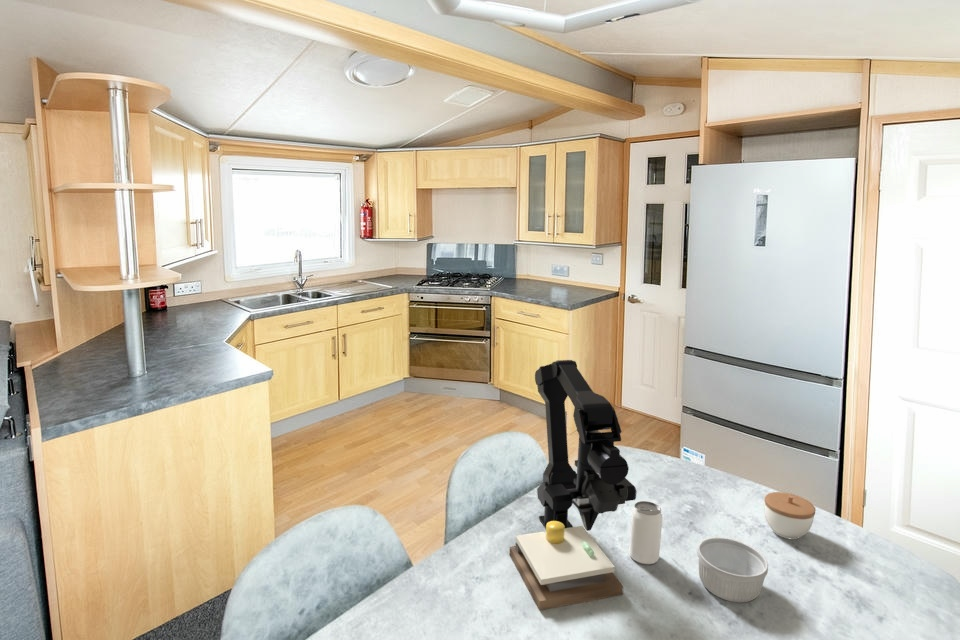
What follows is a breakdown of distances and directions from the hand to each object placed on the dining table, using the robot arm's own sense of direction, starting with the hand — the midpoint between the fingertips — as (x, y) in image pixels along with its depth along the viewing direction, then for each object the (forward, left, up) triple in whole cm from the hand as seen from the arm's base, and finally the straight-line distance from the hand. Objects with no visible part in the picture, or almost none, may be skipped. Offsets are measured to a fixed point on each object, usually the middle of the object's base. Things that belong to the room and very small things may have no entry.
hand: (587, 529), depth 117 cm
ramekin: (+11, +27, -10) cm, 31 cm away
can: (-2, +15, -10) cm, 19 cm away
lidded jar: (-2, +54, -10) cm, 55 cm away
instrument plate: (-1, -5, -6) cm, 8 cm away
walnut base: (-1, -5, -10) cm, 11 cm away
